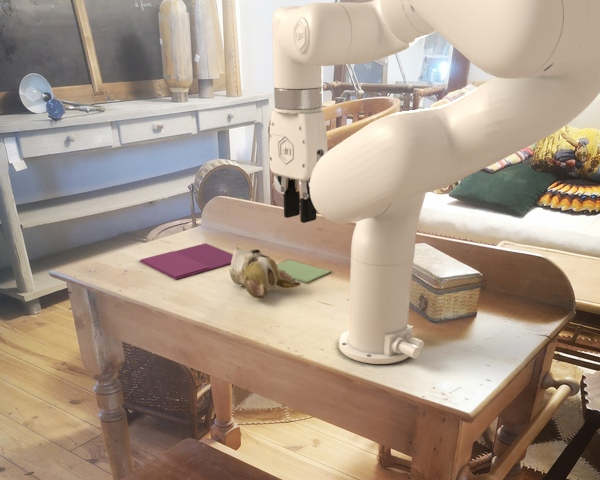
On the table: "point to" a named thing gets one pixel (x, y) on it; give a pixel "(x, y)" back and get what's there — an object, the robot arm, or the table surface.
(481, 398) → the table surface
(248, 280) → the ceramic sculpture
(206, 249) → the plum cloth
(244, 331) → the table surface
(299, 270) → the sage cloth
